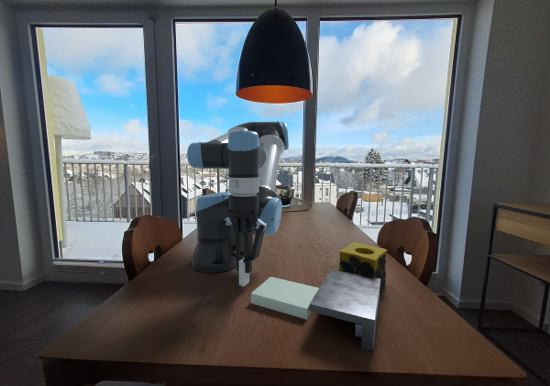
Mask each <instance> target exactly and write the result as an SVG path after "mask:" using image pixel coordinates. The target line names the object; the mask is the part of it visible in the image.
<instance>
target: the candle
mask: <svg viewBox="0 0 550 386" xmlns="http://www.w3.org/2000/svg"><path fill="white" fill-rule="evenodd" d="M387 253H388V249H386V248H382V247H377V246H373V245H368V244H364V243H359V242H356V241H354V242H352V243H350V244H349V245H347V246H346V247H344V248H342V249H341V250H340V251H339V263H338V271H342V272H347V273H352V274H358V275H363V276H369V277H374V278H379V279H381V281H380V289H382V287H383V286H384V284H386V282H387V281H386V278H387V272H386V265H387Z"/></svg>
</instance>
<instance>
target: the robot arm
mask: <svg viewBox="0 0 550 386" xmlns="http://www.w3.org/2000/svg"><path fill="white" fill-rule="evenodd" d="M288 133H289V131H288V124H287V122H285V121H278V120H277V121H249V122H244V123H241V124H238V125H235V126H233V127H231V128H229V129H228V131H227V132H226V133H224V134H221V135H219V136H217V137H216V138H214V139H211V140H209V141H207V142H205V141H204V142H201V141H197V142H192V143H190V144H189V145H188V147H187V149H186V150H187V151H186V157H187V162H188V164H189V166H190V167H191V168H194V169H201V170H204V169H205V170H206V169H207V170H208V169H211V170H215V169H216V170H217V169H219V170H220V169H221V170H228V191H223V192H216V193H215V192H214V193H209V194H204V195H201V196H199V197H198V198H197V199H196V208H195V209H196V210H195V212H196V213H195V214H196V216H195V217H196V232H197V233H196V237H197V241H196V242H197V243H196V245H195V248H194V253H193V256H192V260H191V261H192V263H191V264H192V268H193V269H194V270H196V271H198V272H202V273H210V274H211V273H214V274H215V273H223V272H228V271H231V270H232V269H235V268H236V271H237V272H238V285H239V286H240V287H241V286H242V287H246V285H248V284H249V283H250V274H251V272H252V271H253V261H254V260H256V259H258V258H259V257H260V253H261V249H262V244H263V241H264V240H263V239H264V236H271V235H274V234H275V233H277V231H278V229H279V227H280V224H281V220H282V211H283V202H282V200H281V198H280V197H279V196H278V194H277V192H276V185H277V180H278V179H277V178H278V171H279V165H280V157H281V156H282V155H283V154H284V153H285V152H284V151H288V150H289V149H290V147H289V146H290V145H289V134H288Z"/></svg>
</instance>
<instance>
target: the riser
mask: <svg viewBox="0 0 550 386" xmlns="http://www.w3.org/2000/svg"><path fill="white" fill-rule="evenodd" d="M380 281H381V279H379V278H374V277H369V276H363V275H358V274H352V273H347V272H342V271H339V270H335V269H330V270H329V272H328V273H327V275H326V276H325V278H324V280H323V281H322V283H321V284H320V286H319V287H318V288H319V289H318V291H317V293H316V294H315V296H314V297H313V299H312V301H311V302H310V304H309V311H311V313H315V314H319V315H323V316H327V317H331V318H334V319H338V320H342V321H346V322H350V323H353V324H355V332H354V335H355V337H360V338H361V343H360V344H361V347H360V348H362V349H365V350H368V351H371V352H373V351H374V346H375V337H376V329H377V322H378V313H379V307H380V306H379V305H380V297H381V296H380V294H381V292H380V291H381V288H380Z"/></svg>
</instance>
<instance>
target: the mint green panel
mask: <svg viewBox="0 0 550 386" xmlns="http://www.w3.org/2000/svg"><path fill="white" fill-rule="evenodd" d="M319 288H320V287H315V286H311V285H308V284H304V283H300V282H295V281H290V280H287V279H282V278H277V277H276V276H275V277H273V276H269V277H268V278H267V279H266V280H265V281H263V283H262V284H260V285H259V286H258V287H256V288H255V290H253V291H252V292H250V303H251V304H252V305H257V306H259V307H262V308H266V309H270V310H273V311H276V312H280V313H283V314H286V315H290V316H294V317H296V318H300V319H303V320H308V318H309V317H310V316H311V313H312V312H311V311H309V304H310V302H311V301H312V299H313V297H314V296H315V294H316V293H317V291H318V289H319Z"/></svg>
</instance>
